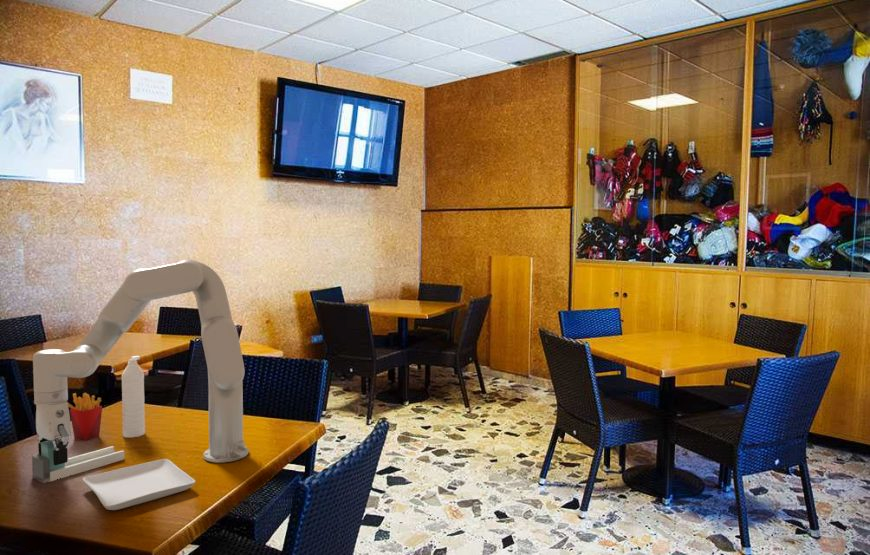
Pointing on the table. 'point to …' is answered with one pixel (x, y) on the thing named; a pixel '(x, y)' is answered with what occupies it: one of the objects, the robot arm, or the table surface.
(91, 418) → the french fries
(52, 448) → the block
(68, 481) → the table surface
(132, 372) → the water bottle
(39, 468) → the channel
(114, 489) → the salad plate
